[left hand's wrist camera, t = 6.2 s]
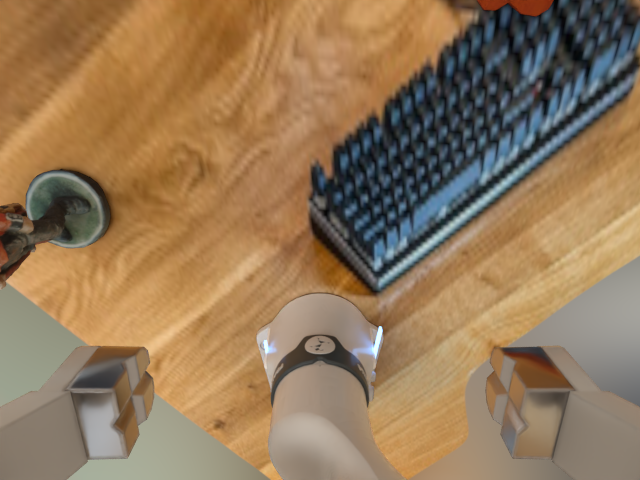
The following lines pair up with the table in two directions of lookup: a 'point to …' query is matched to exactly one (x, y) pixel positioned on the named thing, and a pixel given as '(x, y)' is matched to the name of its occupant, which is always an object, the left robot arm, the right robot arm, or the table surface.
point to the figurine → (52, 217)
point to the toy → (518, 5)
